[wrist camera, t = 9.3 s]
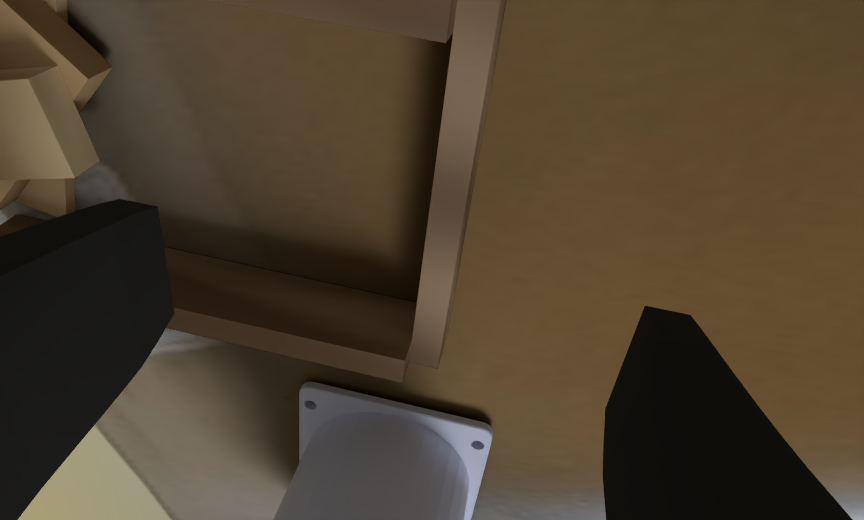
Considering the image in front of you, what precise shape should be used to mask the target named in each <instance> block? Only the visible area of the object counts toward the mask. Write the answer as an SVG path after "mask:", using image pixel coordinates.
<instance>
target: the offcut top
mask: <svg viewBox="0 0 864 520" xmlns="http://www.w3.org/2000/svg"><path fill="white" fill-rule="evenodd" d="M99 161H100V160H99V158H98V156H97V153H96V151H95V149H94V146H93V144H92V142H91V140H90V137H89V135H88V133H87V131H86V128H85V126H84V124H83V122H82V119H81V117H80V115H79V113H78V110H77V108H76V106H75V104H74V101H73V99H72V97H71V95H70V92H69V90H68V88H67V86H66V83H65V81H64V79H63V77H62V74H61V72H60V70H59V68H58V66H47V67H34V68H21V69H8V70H0V180H28V179H62V178H76V177H77V176H79V175H80V174H82V173H83V172H85V171H86V170H88V169H89V168H91V167H92V166H94V165H95V164H96V163H98V162H99Z"/></svg>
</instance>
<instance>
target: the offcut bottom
mask: <svg viewBox="0 0 864 520" xmlns="http://www.w3.org/2000/svg"><path fill="white" fill-rule="evenodd" d="M43 1H44V2H45V3H46V4H47V5H48V6H49V7H50V8H51V9H52V10H53V11H54V12H55V13H57V14H58V15H59V16H60V17H61V18H62V19H63V20H64V21H65V22H66V23H67V24H68V13H67V0H43ZM15 201H16V202H19V203H21V204H24V205H27V206H29V207H32V208H34V209H37V210H40V211H42V212H45V213H47V214H50V215H53V216H55V217H60V216H62V215H65V214H69V213H72V212H75V211H76V207H75V183H74V178H62V179H31V180H30V181H29V183H28V184H27V185H26V187H25V188H24V190H23V191H22V192H21V194H20V195H19V196H18V198H17V199H16V200H15Z"/></svg>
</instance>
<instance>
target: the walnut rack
mask: <svg viewBox="0 0 864 520" xmlns="http://www.w3.org/2000/svg"><path fill="white" fill-rule="evenodd" d="M207 1H213V2H218V3H224V4H230V5H235V6H241V7H246V8H252V9H258V10H263V11H269V12H274V13H280V14H286V15H291V16H297V17H302V18H308V19H313V20H319V21H325V22H330V23H336V24H341V25H347V26H353V27H358V28H364V29H369V30H375V31H381V32H386V33H392V34H397V35H403V36H409V37H414V38H420V39H425V40H431V41H437V42H442V43H446V42H447V41H448V39H449V38H450V36H451V35H452V33H453V38H452V45H451V53H450V60H449V68H448V75H447V83H446V90H445V97H444V105H443V112H442V120H441V127H440V135H439V142H438V150H437V157H436V165H435V172H434V179H433V187H432V194H431V202H430V209H429V217H428V224H427V232H426V239H425V247H424V254H423V261H422V269H421V276H420V284H419V291H418V299H417V302H412V301H408V300H403V299H398V298H394V297H389V296H385V295H380V294H376V293H371V292H367V291H362V290H358V289H353V288H348V287H344V286H339V285H335V284H330V283H326V282H321V281H317V280H312V279H308V278H303V277H298V276H294V275H289V274H285V273H280V272H276V271H271V270H267V269H262V268H258V267H253V266H249V265H244V264H239V263H235V262H230V261H226V260H221V259H217V258H212V257H208V256H203V255H199V254H194V253H189V252H185V251H180V250H176V249H171V248H167V247H164V251H165V258H166V264H167V270H168V276H169V283H170V289H171V295H172V301H173V308H174V315H173V316H172V318H171V320H170V322H169V323H168V325H167V327H166V328H169V329H173V330H178V331H182V332H186V333H190V334H195V335H199V336H203V337H208V338H212V339H216V340H220V341H225V342H229V343H233V344H238V345H242V346H246V347H250V348H255V349H259V350H263V351H268V352H272V353H276V354H280V355H285V356H289V357H293V358H298V359H302V360H306V361H310V362H315V363H319V364H323V365H328V366H332V367H336V368H340V369H345V370H349V371H353V372H358V373H362V374H366V375H371V376H375V377H379V378H383V379H388V380H392V381H396V382H401V383H402V382H403V379H404V376H405V373H406V370H407V367H408V364H409V362H410V363H415V364H419V365H423V366H428V367H432V368H436V369H438V366H439V362H440V358H441V355H442V351H443V347H444V344H445V340H446V336H447V333H448V328H449V322H450V317H451V311H452V305H453V300H454V294H455V288H456V283H457V277H458V271H459V266H460V260H461V254H462V249H463V243H464V237H465V232H466V226H467V220H468V215H469V209H470V203H471V198H472V192H473V186H474V181H475V175H476V169H477V164H478V158H479V152H480V147H481V141H482V135H483V130H484V124H485V118H486V113H487V107H488V101H489V96H490V90H491V84H492V79H493V73H494V67H495V62H496V56H497V50H498V45H499V39H500V33H501V28H502V22H503V16H504V11H505V5H506V0H207ZM42 222H45V221H44V220H40V219H35V218H30V217H26V216H21V215H15V216H14V217H12V218H11V219H9V220H8V221H6V222H5V223H3V224H2V225H0V237H1V236H4V235H7V234H10V233H13V232H16V231H18V230H21V229H24V228H27V227H30V226H33V225H36V224H39V223H42Z"/></svg>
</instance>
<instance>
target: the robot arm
mask: <svg viewBox="0 0 864 520" xmlns="http://www.w3.org/2000/svg"><path fill="white" fill-rule="evenodd" d="M173 315H174V308H173V301H172V295H171V289H170V283H169V276H168V270H167V264H166V258H165V251H164V245H163V239H162V233H161V226H160V220H159V214H158V208H157V206H152V205H147V204H142V203H137V202H132V201H127V200H122V199H118V200H114V201H109V202H105V203H101V204H98V205H94V206H91V207H88V208H84V209H81V210H78V211H75V212H72V213H69V214H65V215H62V216H60V217H57V218H54V219H51V220H48V221H45V222H42V223H39V224H36V225H33V226H30V227H27V228H24V229H21V230H18V231H16V232H13V233H10V234H7V235H4V236H1V237H0V520H18V518H19V517H20V516H21V514H22V513H23V512H24V510H25V509H26V508H27V506H28V505H29V504H30V502H31V501H32V500H33V499H34V497H35V496H36V495H37V493H38V492H39V491H40V490H41V488H42V487H43V486H44V485H45V484H46V482H47V481H48V480H49V479H50V478H51V476H52V475H53V474H54V473H55V471H56V470H57V469H58V468H59V467H60V466H61V464H62V463H63V462H64V461H65V459H66V458H67V457H68V456H69V455H70V453H71V452H72V451H73V450H74V449H75V447H76V446H77V445H78V444H79V443H80V441H81V440H82V439H83V438H84V437H85V435H86V434H87V433H88V432H89V431H90V430H91V428H92V427H93V426H94V425H95V424H96V422H97V421H98V420H99V419H100V418H101V416H102V415H103V414H104V413H105V412H106V410H107V409H108V408H109V407H110V405H111V404H112V403H113V402H114V401H115V399H116V398H117V397H118V396H119V394H120V393H121V392H122V391H123V390H124V388H125V387H126V386H127V385H128V383H129V382H130V381H131V380H132V378H133V377H134V376H135V375H136V373H137V372H138V371H139V370H140V368H141V367H142V365H143V364H144V362H145V361H146V359H147V358H148V356H149V355H150V353H151V351H152V350H153V348H154V347H155V345H156V344H157V342H158V340H159V339H160V337H161V335H162V334H163V332H164V330H165V328H166V327H167V325H168V323H169V322H170V320H171V318H172V316H173ZM311 401H312V402H311ZM313 402H314V403H313ZM492 437H493V429H492V428H491V426H490V425H488V424H487V423H484V422H481V421H476V420H472V419H468V418H464V417H459V416H455V415H451V414H447V413H443V412H438V411H434V410H430V409H426V408H421V407H417V406H413V405H409V404H404V403H400V402H396V401H392V400H388V399H383V398H379V397H375V396H371V395H366V394H362V393H358V392H354V391H350V390H345V389H341V388H337V387H333V386H328V385H324V384H320V383H316V382H306V383H304V384H303V385H302V387H301V389H300V392H299V465H298V467H297V469H296V471H295V473H294V476H293V478H292V480H291V482H290V484H289V487H288V489H287V491H286V493H285V495H284V498H283V500H282V502H281V504H280V506H279V509H278V511H277V513H276V515H275V517H274V519H273V520H471V517H472V514H473V510H474V506H475V502H476V498H477V495H478V491H479V487H480V483H481V480H482V476H483V472H484V468H485V464H486V461H487V457H488V453H489V449H490V446H491V442H492ZM477 441H480V442H477ZM603 484H604V497H605V509H606V520H852V519H851V518H850V516H849V515H848V514H847V513H846V512H845V511H844V509H843V508H842V507H841V506H840V505H839V504H838V503H837V501H836V500H835V499H834V498H833V497H832V496H831V494H830V493H829V492H828V491H827V490H826V489H825V488H824V486H823V485H822V484H821V483H820V482H819V481H818V479H817V478H816V477H815V476H814V475H813V474H812V472H811V471H810V470H809V469H808V468H807V467H806V465H805V464H804V463H803V462H802V460H801V459H800V458H799V457H798V456H797V454H796V453H795V452H794V451H793V449H792V448H791V447H790V446H789V445H788V443H787V442H786V441H785V440H784V438H783V437H782V436H781V435H780V433H779V432H778V431H777V430H776V428H775V427H774V426H773V424H772V423H771V422H770V421H769V419H768V418H767V417H766V415H765V414H764V413H763V412H762V410H761V409H760V408H759V406H758V405H757V404H756V402H755V401H754V400H753V398H752V397H751V396H750V394H749V393H748V392H747V391H746V389H745V388H744V387H743V385H742V384H741V382H740V381H739V380H738V378H737V377H736V376H735V374H734V373H733V372H732V370H731V369H730V368H729V366H728V365H727V364H726V362H725V361H724V359H723V358H722V357H721V355H720V354H719V353H718V351H717V350H716V348H715V347H714V346H713V344H712V343H711V342H710V340H709V339H708V338H707V336H706V335H705V333H704V332H703V331H702V329H701V328H700V327H699V325H698V324H697V323H696V322H695V320H694V319H693V318H692V317H691V315H688V314H683V313H678V312H673V311H668V310H663V309H658V308H653V307H648V306H645V307H644V310H643V312H642V315H641V318H640V320H639V323H638V325H637V328H636V331H635V333H634V336H633V338H632V341H631V344H630V346H629V349H628V351H627V354H626V357H625V359H624V362H623V364H622V367H621V370H620V372H619V375H618V377H617V380H616V383H615V385H614V388H613V390H612V393H611V396H610V398H609V401H608V403H607V406H606V409H605V428H604V451H603Z"/></svg>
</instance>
